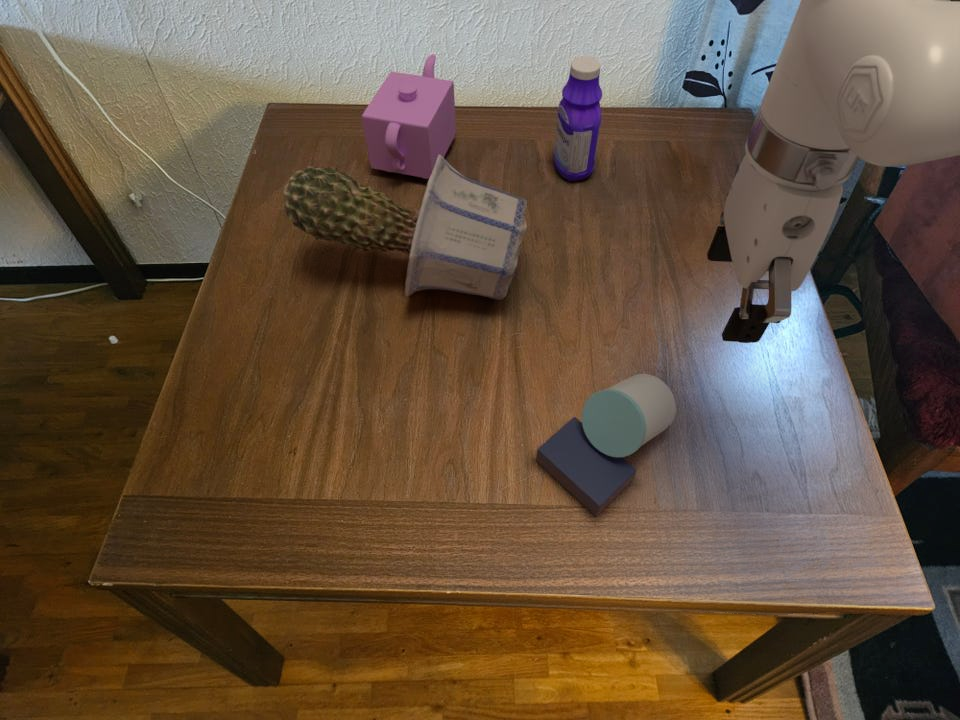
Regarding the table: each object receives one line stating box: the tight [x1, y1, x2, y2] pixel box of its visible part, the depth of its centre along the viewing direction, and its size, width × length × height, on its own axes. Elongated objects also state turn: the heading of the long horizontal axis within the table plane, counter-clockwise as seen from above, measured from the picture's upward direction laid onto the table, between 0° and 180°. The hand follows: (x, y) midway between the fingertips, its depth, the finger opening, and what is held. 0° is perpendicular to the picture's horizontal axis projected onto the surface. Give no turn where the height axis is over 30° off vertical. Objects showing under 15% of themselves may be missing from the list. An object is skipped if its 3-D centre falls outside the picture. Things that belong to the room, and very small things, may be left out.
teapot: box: [361, 54, 457, 180], centre depth 98 cm, size 20×10×12 cm, turn 164°
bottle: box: [553, 55, 603, 182], centre depth 93 cm, size 7×6×17 cm
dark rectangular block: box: [535, 416, 638, 518], centre depth 69 cm, size 9×6×3 cm, turn 43°
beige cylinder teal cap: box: [581, 373, 677, 458], centre depth 69 cm, size 10×7×10 cm
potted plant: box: [282, 155, 529, 301], centre depth 81 cm, size 18×18×30 cm
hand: (730, 297), depth 59 cm, fingers open, 9 cm apart
